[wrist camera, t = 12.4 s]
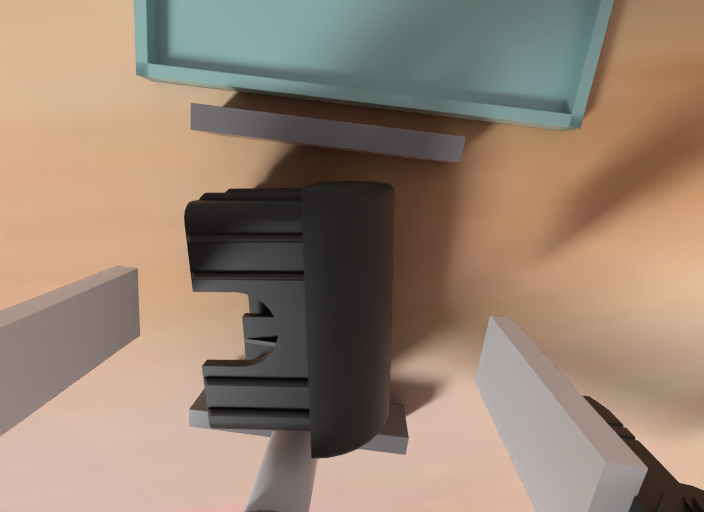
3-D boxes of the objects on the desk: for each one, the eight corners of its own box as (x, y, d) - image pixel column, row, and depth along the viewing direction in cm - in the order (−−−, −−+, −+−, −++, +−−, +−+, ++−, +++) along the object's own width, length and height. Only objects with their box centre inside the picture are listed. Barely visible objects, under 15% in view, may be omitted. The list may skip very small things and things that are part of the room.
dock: (210, 405, 21) (119, 544, 13) (216, 112, 17) (91, 67, 9) (399, 430, 20) (417, 585, 13) (451, 140, 16) (522, 119, 9)
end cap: (385, 364, 20) (394, 465, 13) (257, 362, 20) (204, 459, 13) (388, 179, 17) (403, 188, 11) (243, 180, 17) (169, 189, 11)
